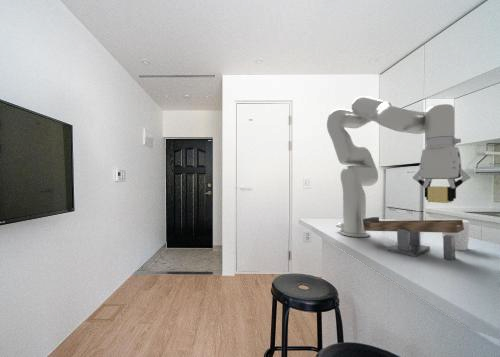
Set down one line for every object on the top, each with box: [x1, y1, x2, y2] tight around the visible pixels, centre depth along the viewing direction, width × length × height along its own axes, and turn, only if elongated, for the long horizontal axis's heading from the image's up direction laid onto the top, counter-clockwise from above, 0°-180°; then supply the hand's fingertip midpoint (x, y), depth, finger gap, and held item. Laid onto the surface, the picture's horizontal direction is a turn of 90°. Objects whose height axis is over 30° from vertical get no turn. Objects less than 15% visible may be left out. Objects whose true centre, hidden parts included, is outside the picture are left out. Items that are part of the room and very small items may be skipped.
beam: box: [363, 216, 464, 233], centre depth 83 cm, size 28×8×5 cm, turn 37°
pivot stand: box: [387, 228, 431, 258], centre depth 82 cm, size 8×14×8 cm, turn 127°
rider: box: [427, 185, 453, 204], centre depth 76 cm, size 5×5×5 cm
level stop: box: [442, 235, 456, 261], centre depth 74 cm, size 2×4×7 cm, turn 127°
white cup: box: [440, 218, 471, 251], centre depth 86 cm, size 8×8×10 cm
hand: (439, 199), depth 76 cm, fingers closed on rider, 5 cm apart
